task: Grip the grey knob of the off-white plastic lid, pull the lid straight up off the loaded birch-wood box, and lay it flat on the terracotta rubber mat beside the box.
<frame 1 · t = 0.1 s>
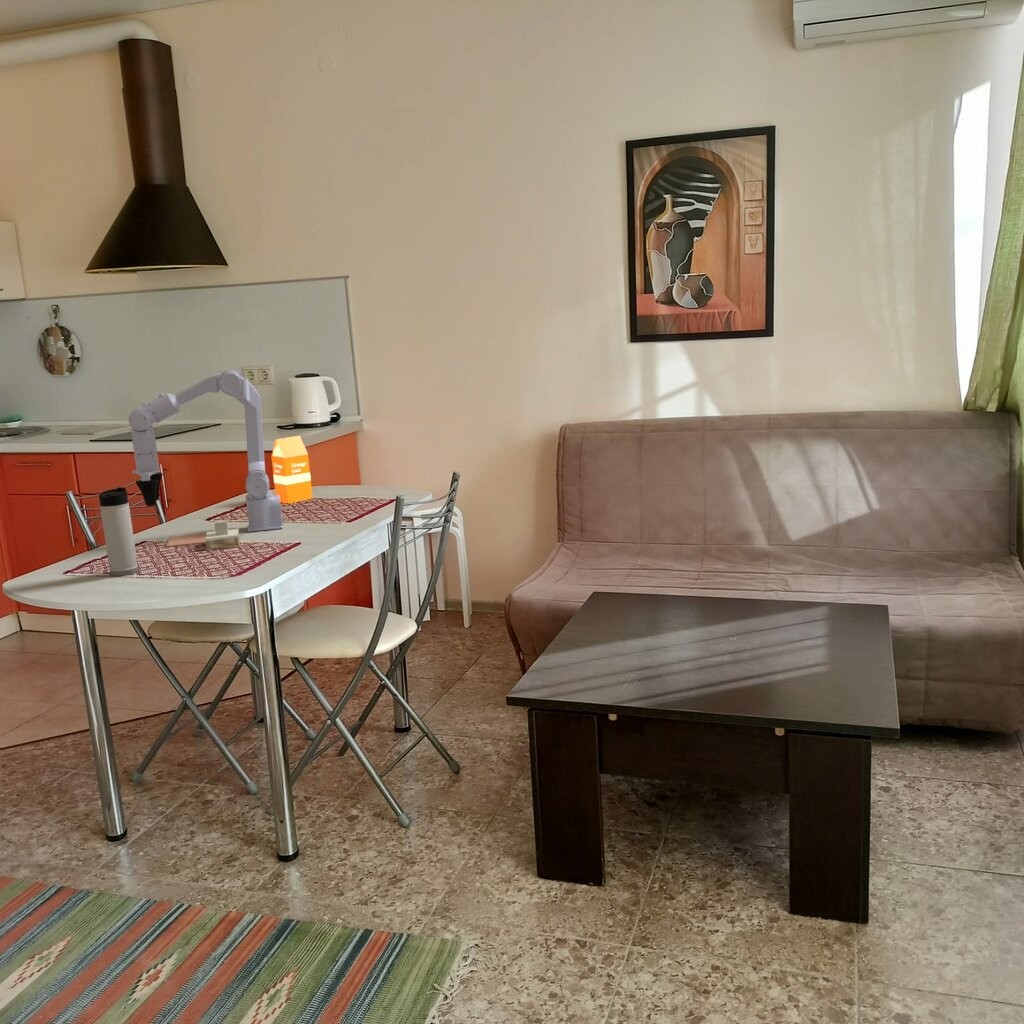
hand: (152, 503, 263), 10 cm above the table, fingers open, 7 cm apart
orange juice: (294, 500, 310), on the table
box: (223, 544, 254), on the table
lid: (222, 536, 253), point 2 cm above the table, touching box
mat: (189, 540, 261), on the table
travel mug: (125, 573, 232), on the table
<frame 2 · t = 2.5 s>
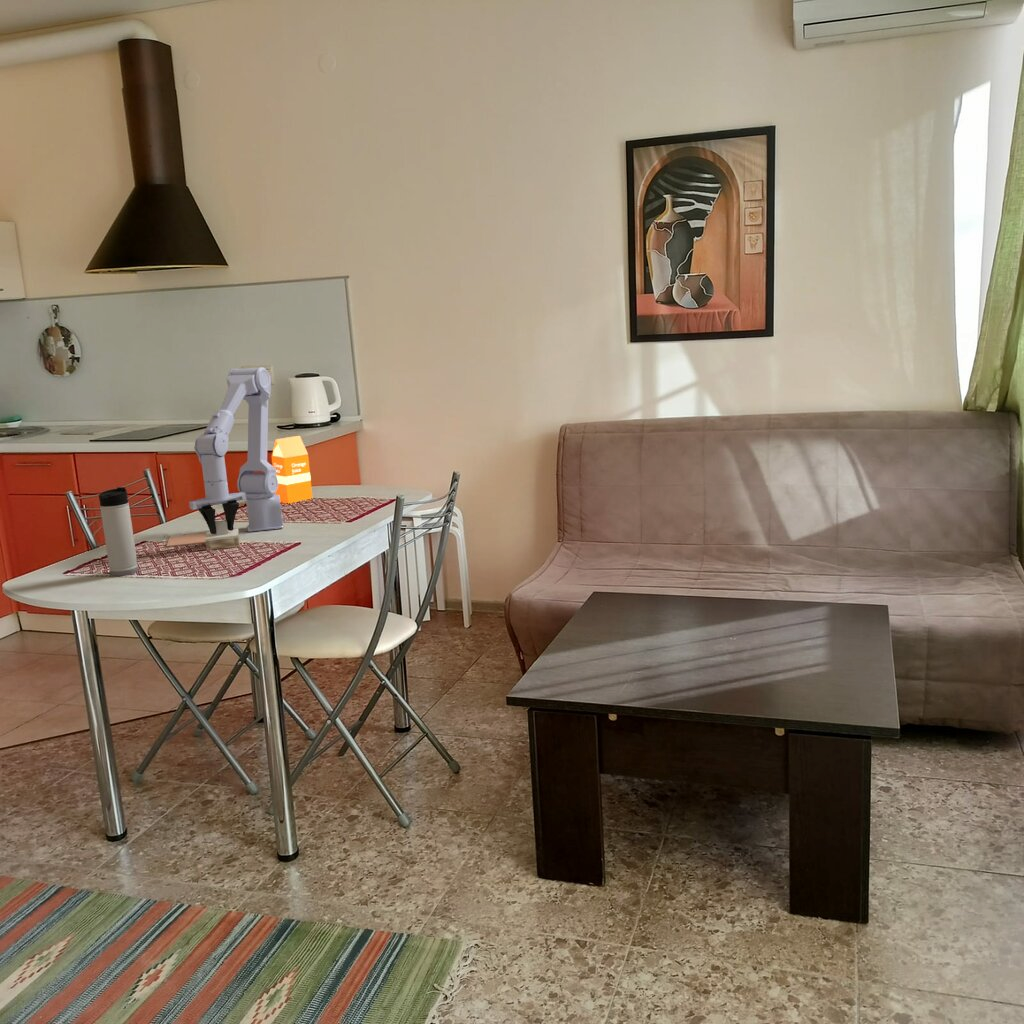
hand: (221, 531, 253), 4 cm above the table, fingers closed on lid, 4 cm apart
lid: (222, 536, 253), point 2 cm above the table, touching box, gripper
everything else where it was.
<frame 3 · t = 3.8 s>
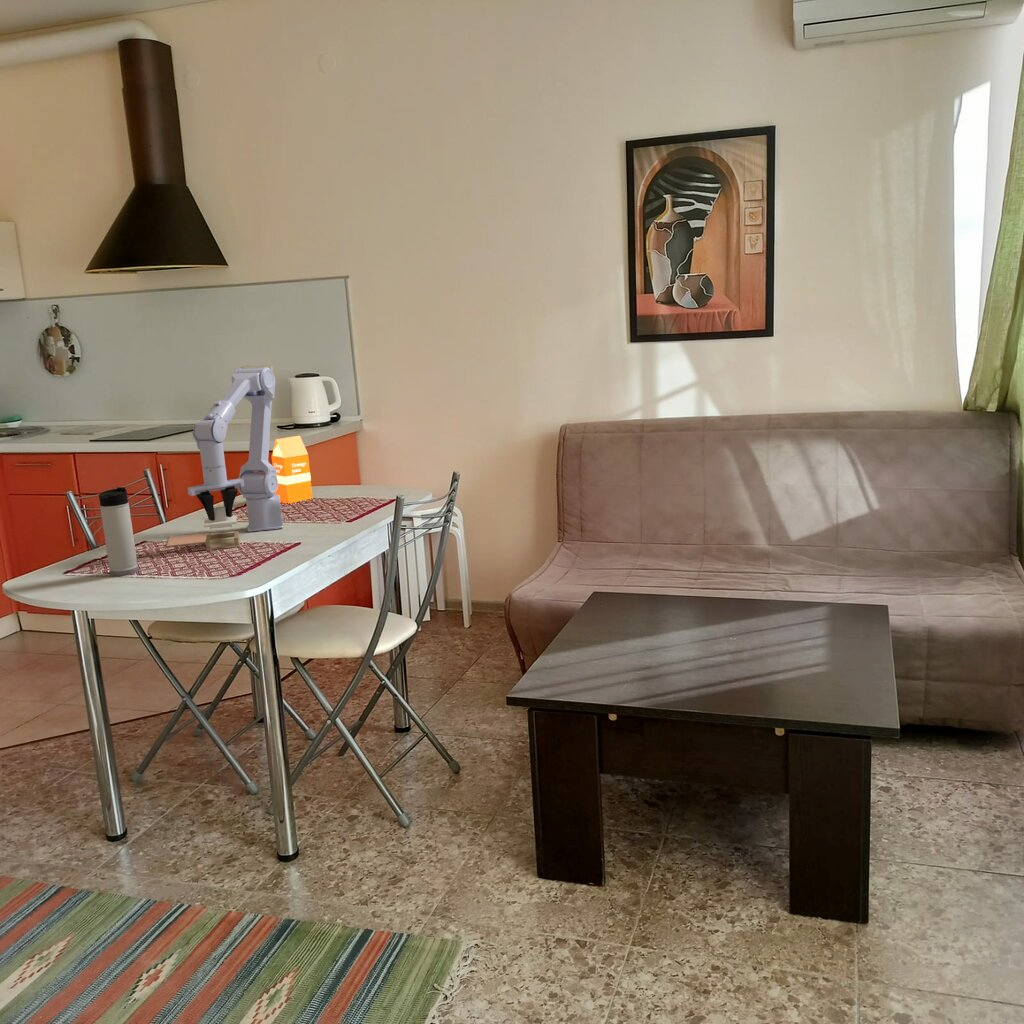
hand: (220, 518, 252), 7 cm above the table, fingers closed on lid, 4 cm apart
lid: (220, 522, 253), point 6 cm above the table, touching gripper
everything else where it was.
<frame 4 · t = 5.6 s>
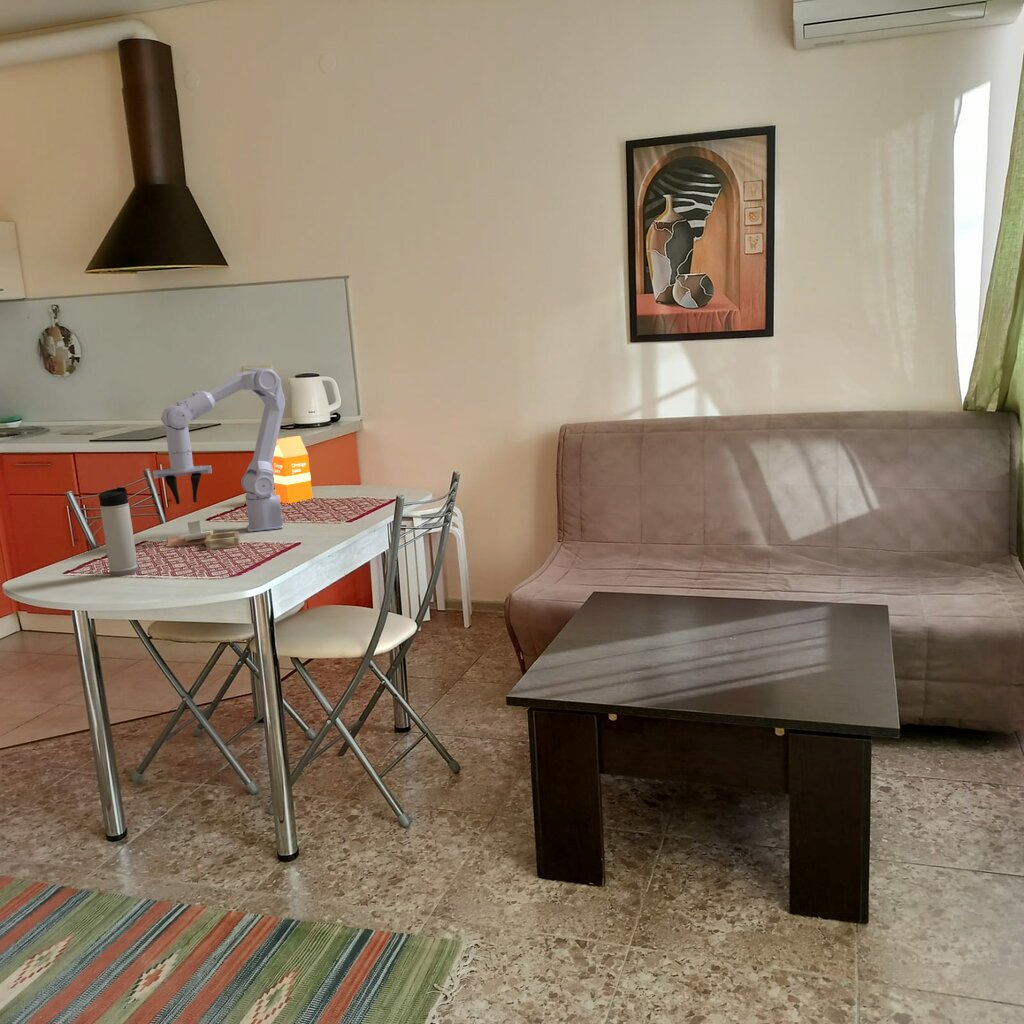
hand: (186, 502, 259), 10 cm above the table, fingers open, 4 cm apart
lid: (196, 535, 259), point 2 cm above the table, tilted 9°, touching box, mat
everything else where it was.
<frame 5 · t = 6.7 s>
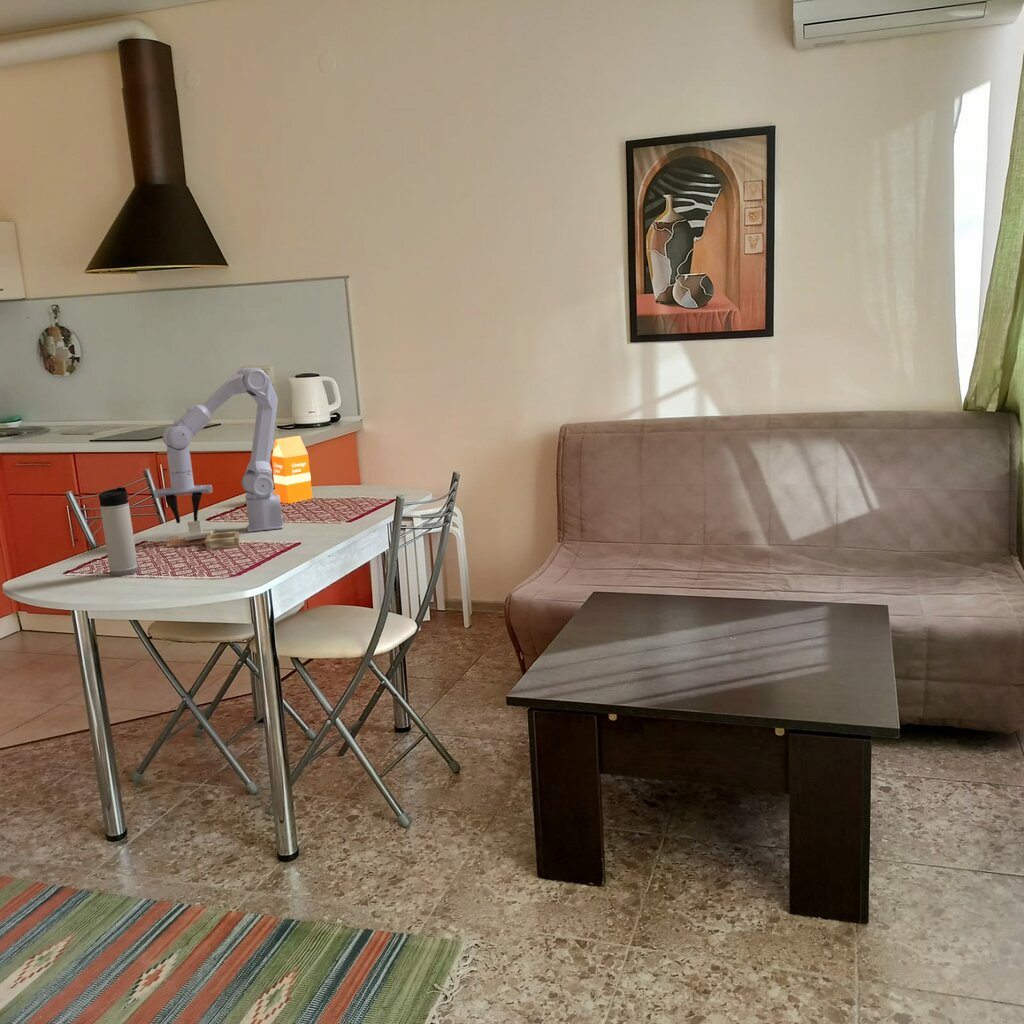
hand: (187, 521, 260), 5 cm above the table, fingers open, 4 cm apart
lid: (196, 535, 259), point 2 cm above the table, tilted 10°, touching box, gripper, mat
everything else where it was.
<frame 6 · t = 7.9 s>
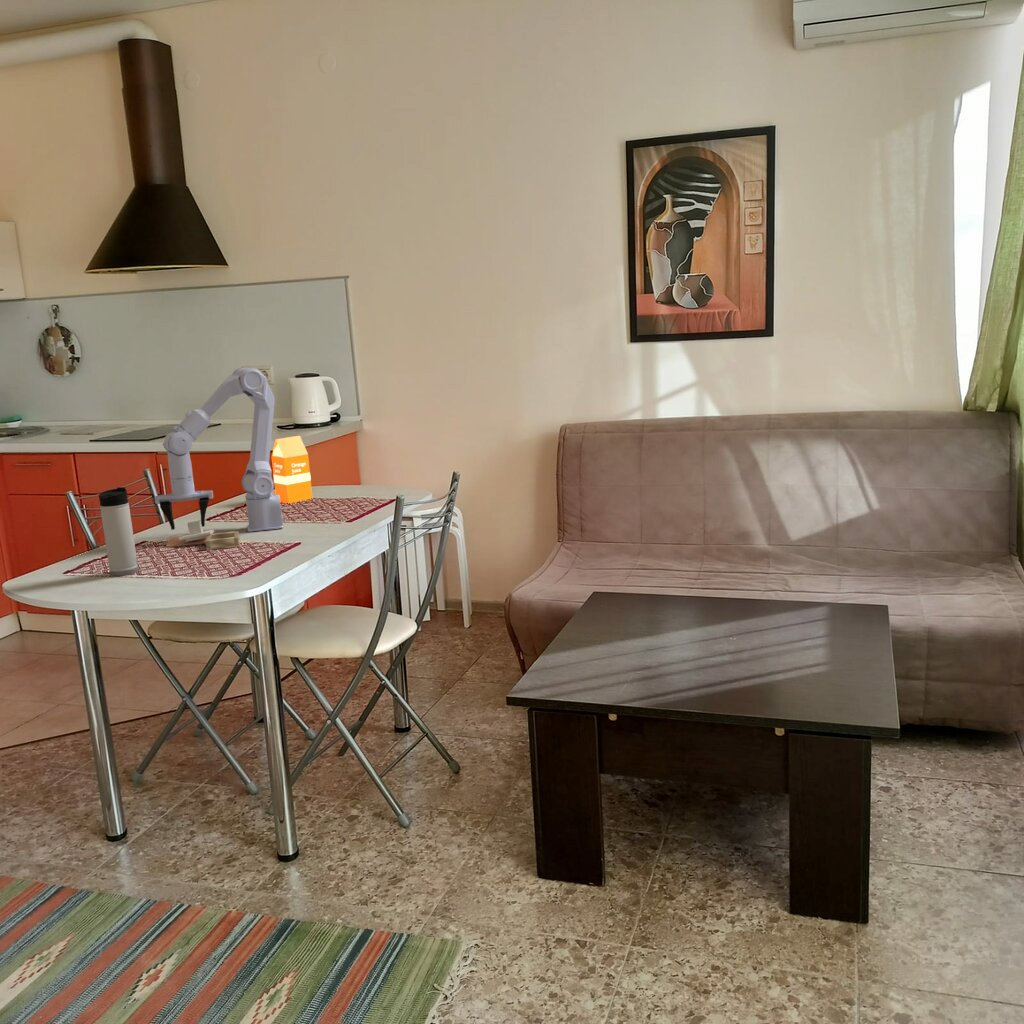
hand: (188, 527, 261), 4 cm above the table, fingers open, 7 cm apart
lid: (197, 535, 258), point 2 cm above the table, tilted 9°, touching box, mat
everything else where it was.
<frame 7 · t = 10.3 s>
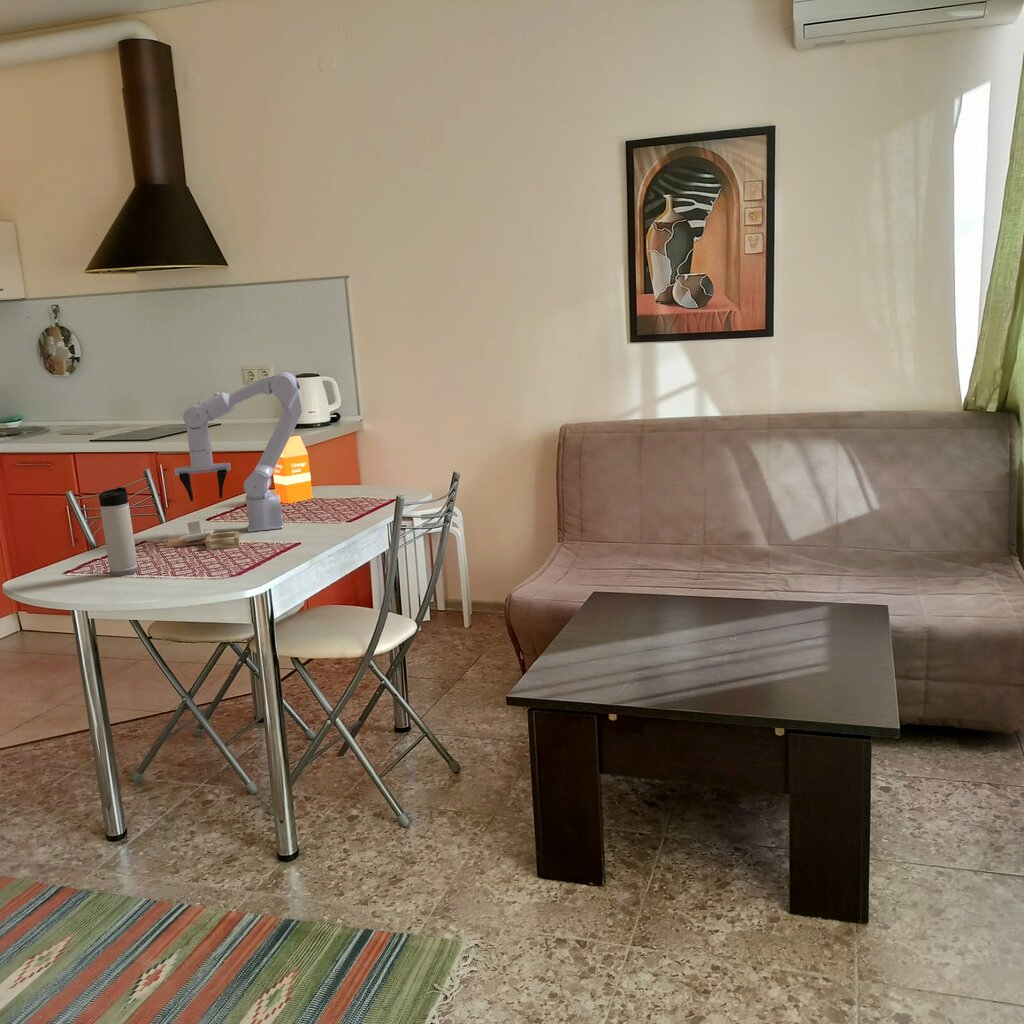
hand: (206, 498, 268), 9 cm above the table, fingers open, 7 cm apart
nothing on the table moved.
at the end: lid 4.0 cm off-centre on the mat, point 1.8 cm above the mat's base; lid tilted 9°; the gripper is holding nothing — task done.
